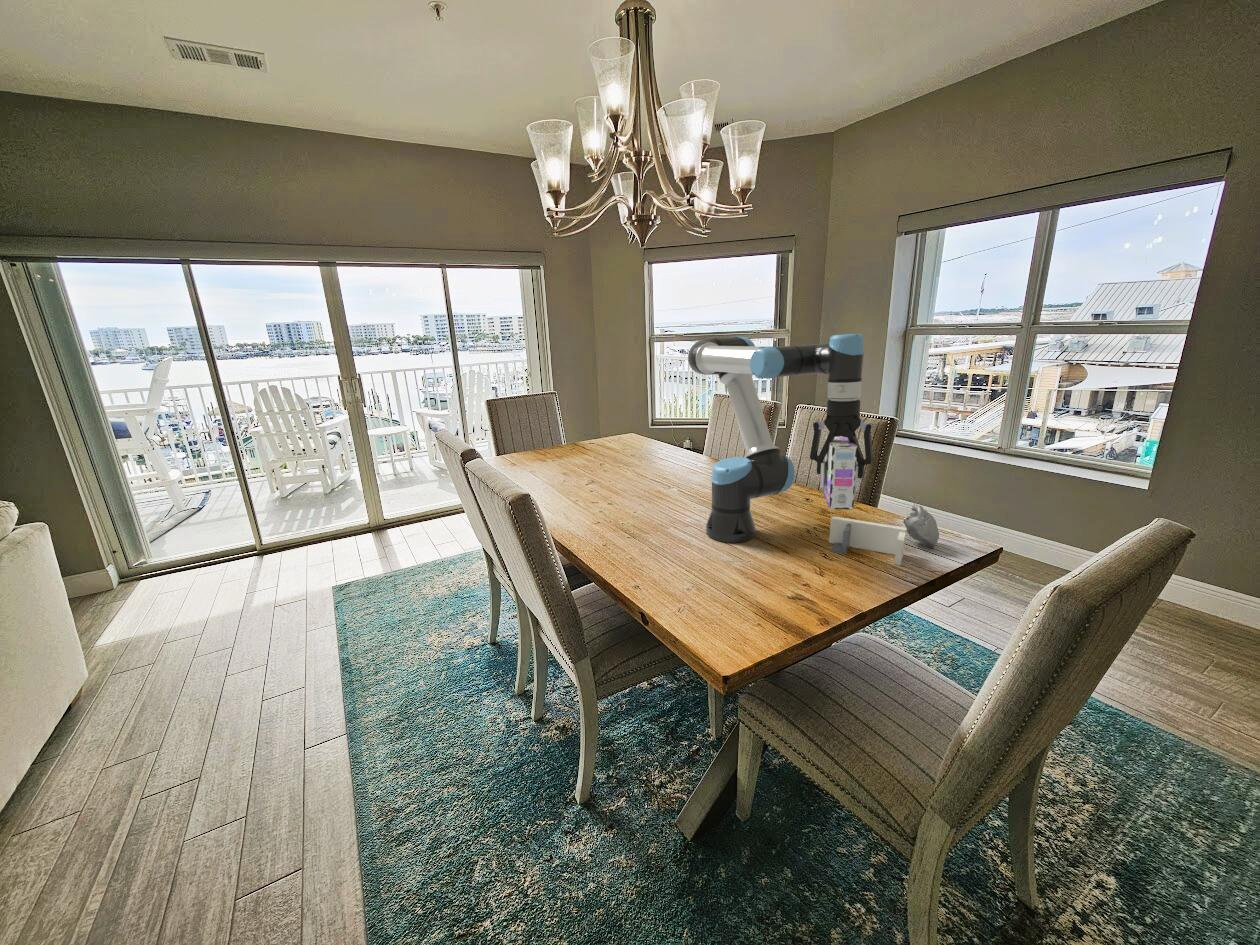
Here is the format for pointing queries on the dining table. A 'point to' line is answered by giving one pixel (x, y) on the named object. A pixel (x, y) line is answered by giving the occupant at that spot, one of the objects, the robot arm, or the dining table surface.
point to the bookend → (843, 546)
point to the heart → (922, 526)
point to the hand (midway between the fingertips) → (839, 488)
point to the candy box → (840, 473)
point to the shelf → (870, 536)
